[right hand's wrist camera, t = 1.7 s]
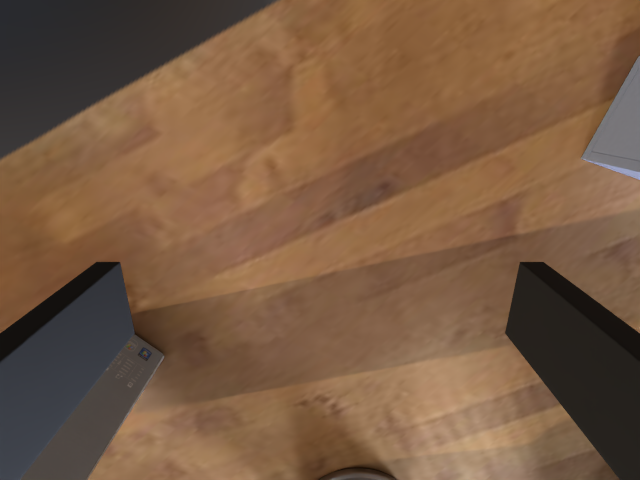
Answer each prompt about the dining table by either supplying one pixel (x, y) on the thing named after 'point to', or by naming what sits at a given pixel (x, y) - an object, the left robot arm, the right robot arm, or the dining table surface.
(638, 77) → the chest
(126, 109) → the dining table surface
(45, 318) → the right robot arm
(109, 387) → the hard drive box
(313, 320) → the dining table surface
